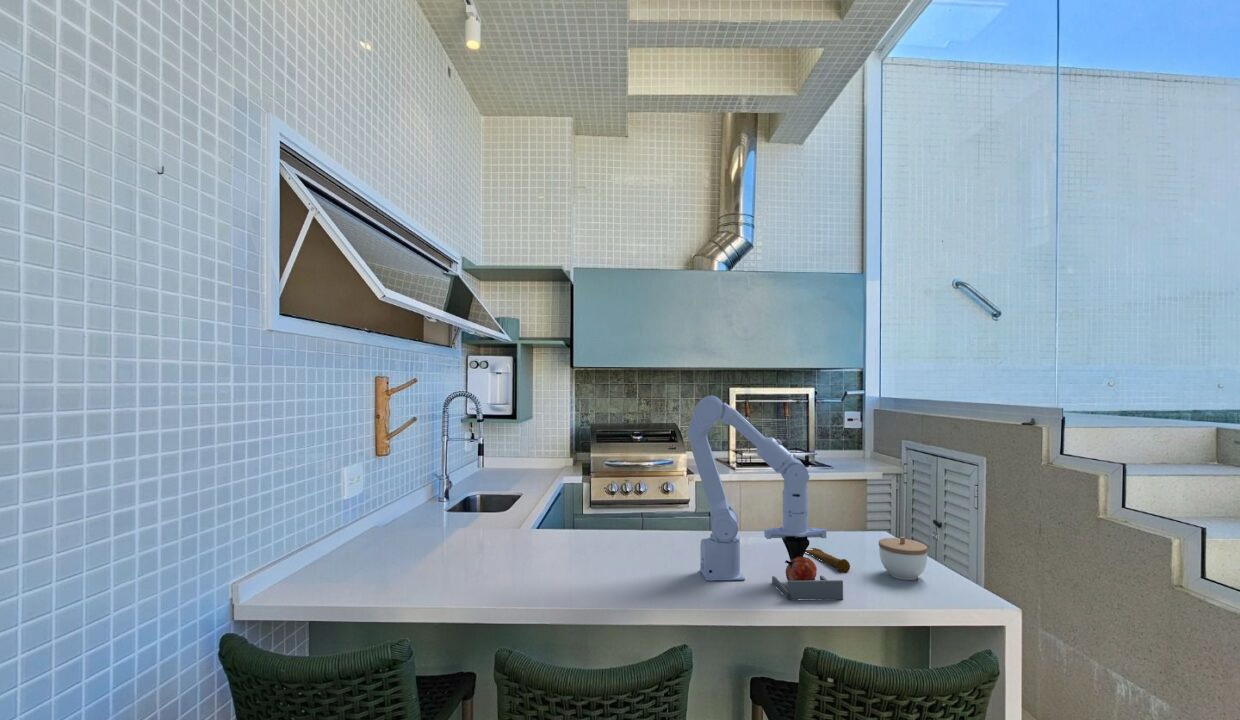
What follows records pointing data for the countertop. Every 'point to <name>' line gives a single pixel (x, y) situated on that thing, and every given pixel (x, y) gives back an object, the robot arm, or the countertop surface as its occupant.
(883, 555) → the lidded jar
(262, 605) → the countertop surface
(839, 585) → the box
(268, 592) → the countertop surface
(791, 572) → the pomegranate
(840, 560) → the primitive tool
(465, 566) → the countertop surface
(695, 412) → the robot arm
